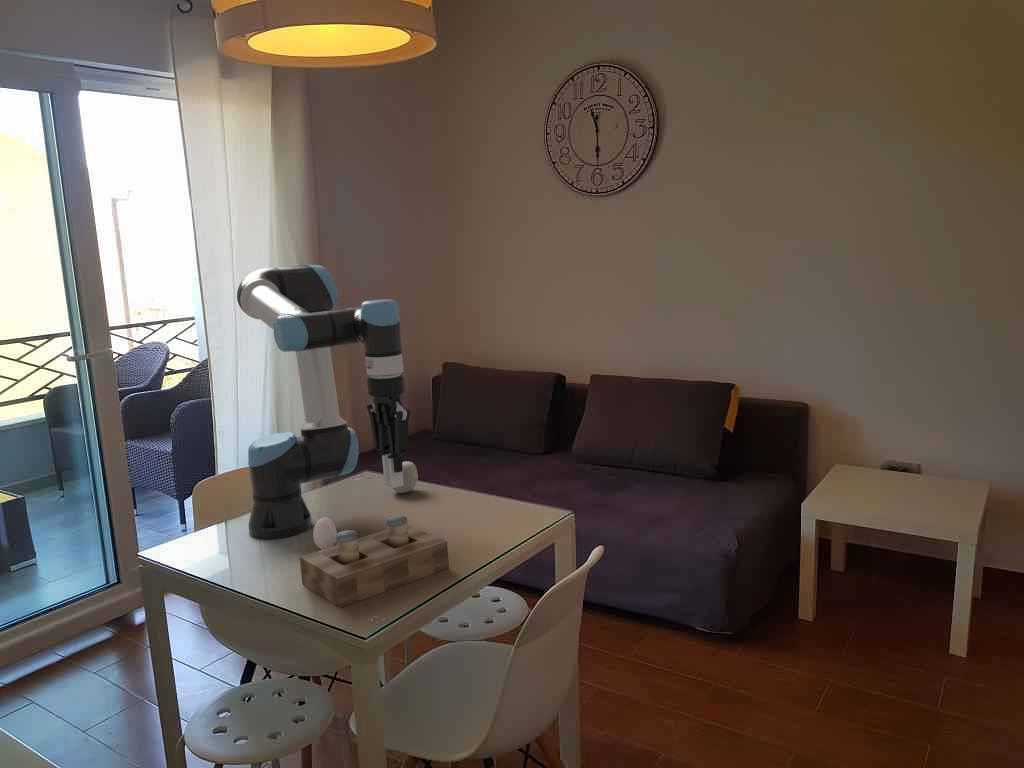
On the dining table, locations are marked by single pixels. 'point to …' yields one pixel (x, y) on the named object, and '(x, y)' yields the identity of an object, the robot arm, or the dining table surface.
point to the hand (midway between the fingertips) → (394, 485)
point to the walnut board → (373, 566)
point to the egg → (324, 533)
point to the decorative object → (408, 478)
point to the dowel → (347, 547)
